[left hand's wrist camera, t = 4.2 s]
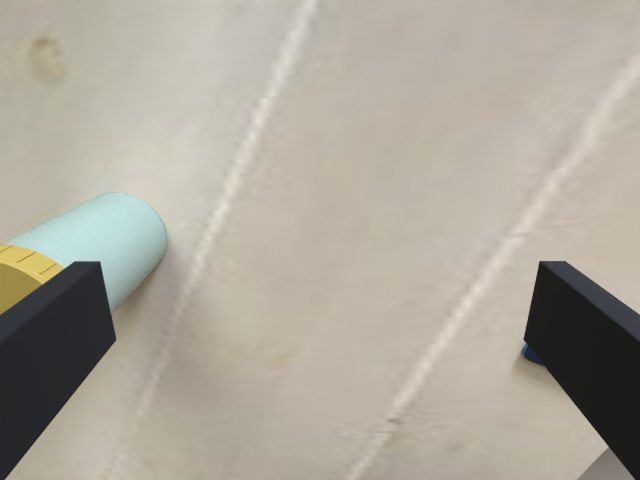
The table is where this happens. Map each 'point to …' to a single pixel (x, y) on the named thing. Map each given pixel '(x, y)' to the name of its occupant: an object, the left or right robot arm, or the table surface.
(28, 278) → the lid
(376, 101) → the table surface
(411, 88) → the table surface
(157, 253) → the jar
